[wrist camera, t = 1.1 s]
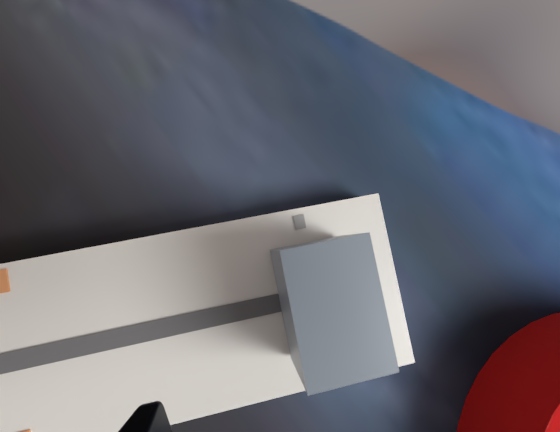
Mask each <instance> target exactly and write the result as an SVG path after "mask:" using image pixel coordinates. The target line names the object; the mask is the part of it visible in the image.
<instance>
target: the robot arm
mask: <svg viewBox="0 0 560 432" xmlns="http://www.w3.org/2000/svg"><path fill="white" fill-rule="evenodd" d="M118 432H172V429H171V426H170V423H169V420H168V417H167V414H166V411H165V408H164V406H163V404H162V403H161V402H160V401H154V402H150V403H145V404H142V405H140V406H139V407H138V408H137V409H136V410H135V411H134V413H133V414H132V415H131V416H130V418H129V419H128V420H127V421H126V422H125V424H124V425H123V426H122V427H121V429H120V430H119V431H118Z"/></svg>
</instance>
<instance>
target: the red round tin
mask: <svg viewBox="0 0 560 432" xmlns="http://www.w3.org/2000/svg"><path fill="white" fill-rule="evenodd" d="M457 432H560V312H559V313H554V314H551V315H548V316H546V317H543V318H541V319H539V320H536V321H534V322H531V323H529V324H528V325H526V326H525V327H523V328H522V329H520V330H519V331H517V332H516V333H514V334H513V335H511V336H510V337H509V338H508V339H507V340H506V341H505V342H504V343H503V344H502V345H501V346H500V347H499V348H498V349H497V350H496V351H495V352H494V353H493V354H492V355H491V356H490V358H489V359H488V361H487V362H486V363H485V365H484V366H483V367H482V369H481V370H480V372H479V373H478V374H477V377H476V379H475V381H474V383H473V385H472V387H471V389H470V391H469V393H468V395H467V397H466V399H465V403H464V406H463V409H462V413H461V416H460V419H459V423H458V427H457Z"/></svg>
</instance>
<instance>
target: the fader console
mask: <svg viewBox="0 0 560 432" xmlns="http://www.w3.org/2000/svg"><path fill="white" fill-rule="evenodd" d="M369 232H370V236H371V241H372V246H373V250H374V255H375V260H376V264H377V269H378V274H379V278H380V283H381V288H382V293H383V297H384V302H385V307H386V311H387V316H388V321H389V325H390V330H391V335H392V339H393V344H394V349H395V353H396V358H397V363H398V367H400V366H404V365H408V364H412V363H415V360H414V356H413V351H412V347H411V342H410V337H409V333H408V328H407V323H406V319H405V314H404V310H403V305H402V300H401V296H400V291H399V287H398V282H397V277H396V273H395V268H394V263H393V259H392V254H391V250H390V245H389V240H388V236H387V231H386V226H385V222H384V217H383V213H382V208H381V203H380V199H379V194H378V193H377V194H372V195H367V196H361V197H356V198H351V199H345V200H340V201H335V202H329V203H324V204H318V205H313V206H308V207H302V208H297V209H292V210H286V211H281V212H276V213H270V214H265V215H260V216H254V217H249V218H244V219H238V220H233V221H228V222H222V223H217V224H211V225H206V226H201V227H195V228H190V229H185V230H179V231H174V232H169V233H163V234H158V235H153V236H147V237H142V238H137V239H131V240H126V241H121V242H115V243H110V244H104V245H99V246H94V247H88V248H83V249H78V250H72V251H67V252H62V253H56V254H51V255H46V256H40V257H35V258H30V259H24V260H19V261H14V262H8V263H3V264H0V432H118V431H119V430H120V429H121V427H122V426H123V425H124V424H125V422H126V421H127V420H128V419H129V418H130V416H131V415H132V414H133V413H134V411H135V410H136V409H137V408H138V407H139V406H140V405H142V404H145V403H150V402H154V401H160V402H161V403H162V404H163V406H164V408H165V411H166V414H167V417H168V420H169V423H170V425H172V424H176V423H180V422H184V421H188V420H192V419H196V418H200V417H204V416H208V415H212V414H216V413H219V412H223V411H227V410H231V409H235V408H239V407H243V406H247V405H251V404H255V403H259V402H263V401H267V400H270V399H274V398H278V397H282V396H286V395H290V394H294V393H298V392H302V391H306V390H305V388H304V386H303V384H302V382H301V379H300V377H299V375H298V373H297V370H296V368H295V366H294V364H293V361H292V359H291V357H290V352H289V346H288V341H287V336H286V331H285V326H284V321H283V315H282V310H281V305H280V300H279V295H278V290H277V284H276V279H275V274H274V269H273V264H272V259H271V253H270V249H275V248H280V247H285V246H290V245H295V244H300V243H305V242H310V241H315V240H320V239H325V238H330V237H335V236H342V235H351V234H360V233H369Z"/></svg>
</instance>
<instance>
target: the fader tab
mask: <svg viewBox="0 0 560 432" xmlns="http://www.w3.org/2000/svg"><path fill="white" fill-rule="evenodd" d="M270 253H271V259H272V264H273V269H274V274H275V279H276V284H277V290H278V295H279V300H280V305H281V310H282V315H283V321H284V326H285V331H286V336H287V341H288V346H289V352H290V357H291V359H292V361H293V364H294V366H295V368H296V370H297V373H298V375H299V377H300V379H301V382H302V384H303V386H304V388H305V390H306V393H307V395H308V396H309V395H313V394H317V393H321V392H325V391H328V390H332V389H336V388H340V387H344V386H348V385H352V384H356V383H360V382H363V381H367V380H371V379H375V378H379V377H383V376H387V375H391V374H395V373H398V372H399V368H398V363H397V358H396V353H395V349H394V344H393V339H392V335H391V330H390V325H389V321H388V316H387V311H386V307H385V302H384V297H383V293H382V288H381V283H380V278H379V274H378V269H377V264H376V260H375V255H374V250H373V246H372V241H371V236H370V232H369V233H360V234H351V235H342V236H335V237H330V238H325V239H320V240H315V241H310V242H305V243H300V244H295V245H290V246H285V247H280V248H275V249H270Z"/></svg>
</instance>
